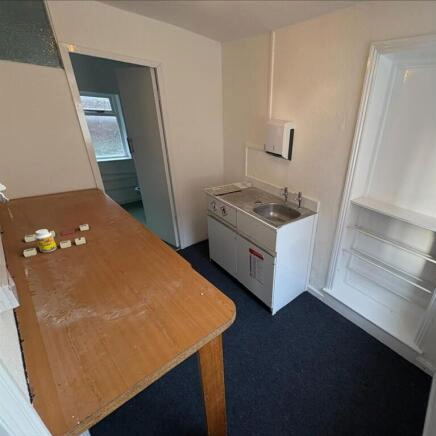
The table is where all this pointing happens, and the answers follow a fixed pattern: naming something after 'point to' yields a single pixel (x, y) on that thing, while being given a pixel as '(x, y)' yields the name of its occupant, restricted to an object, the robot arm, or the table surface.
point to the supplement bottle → (45, 240)
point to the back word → (32, 237)
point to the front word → (63, 245)
